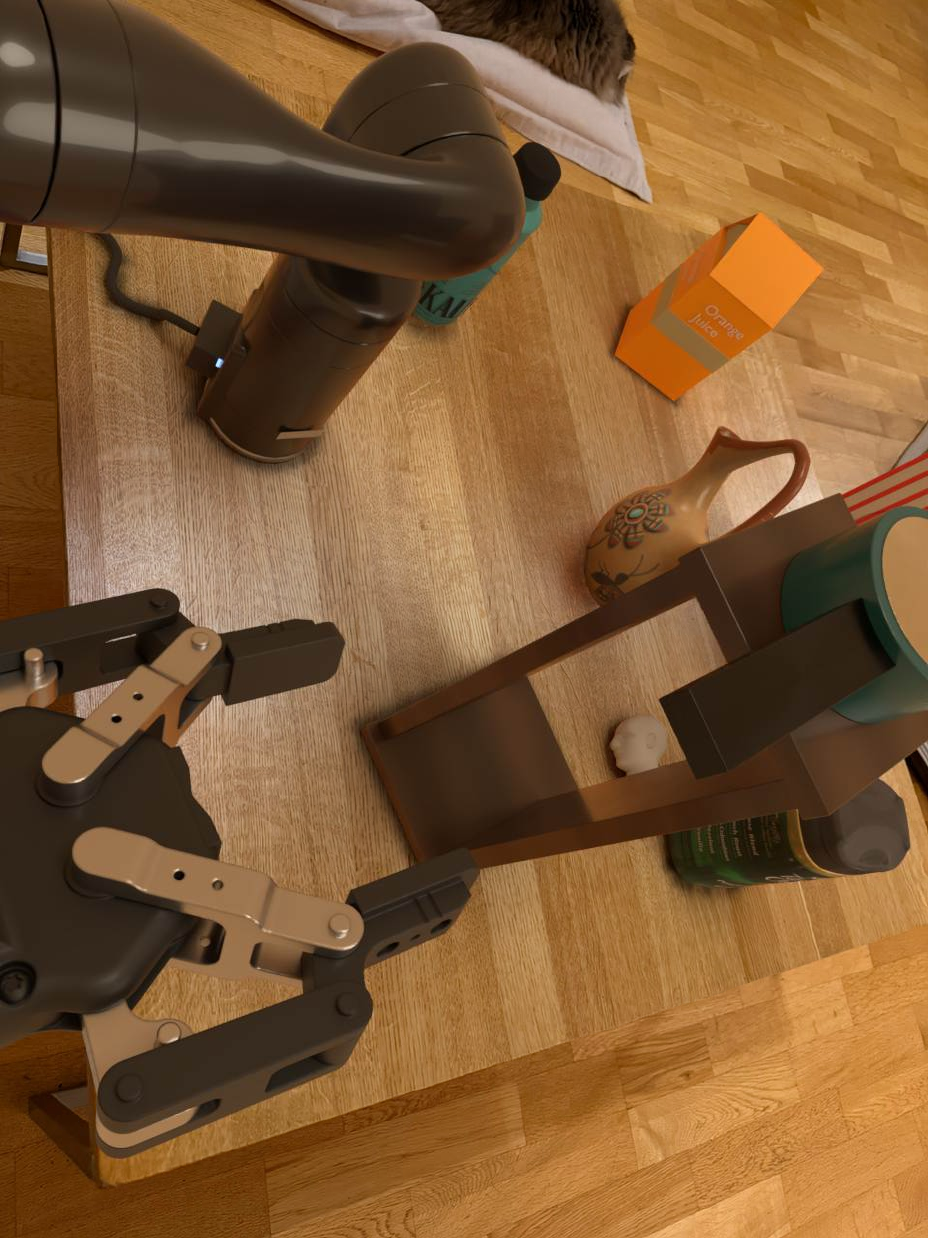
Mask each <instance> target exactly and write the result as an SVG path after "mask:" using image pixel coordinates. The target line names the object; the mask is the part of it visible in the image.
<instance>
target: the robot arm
mask: <svg viewBox="0 0 928 1238" xmlns="http://www.w3.org/2000/svg"><path fill="white" fill-rule="evenodd" d="M525 216H526V204H525V196H524V191H523V186H522V182H521V179H520V175H519V172H518V168H517V165H516V163H515V160H514V158H513V154H512V151H511V148H510V146H509V143H508V141H507V139H506V136H505V134H504V132H503V129H502V127H501V124H500V122H499V120H498V117H497V115H496V112H495V109H494V108H493V104H492V102H491V100H490V97H489V94H488V93H487V90H486V88H485V86H484V84H483V81H482V79H481V76H480V75H479V74H478V72H477V70H476V68H475V66H473V64H472V62H471V61H470V60H469V59H468V58H467V57H466V56H465V55H463V53H461V52H460V51H459V50H457V49H456V48H454V47H452V46H450V45H447V44H443V43H440V42H437V41H436V42H434V41H416V42H415V41H414V42H410V43H406V44H402V45H400V46H398V47H395V48H392V49H390V50H389V51H385V52H384V53H382V54H381V55H379V56H378V57H376V58H375V59H374V60H372V61H370V62H369V63H368V64H367V65H366V66H365V67H364V68H363V69H361V70H360V71H359V72H358V73H357V74H356V75H355V76H354V77H353V78H352V80H351V81H350V82H349V83H348V84H347V85H346V87H345V88H344V90H343V91H342V92H341V94H340V95H339V97H338V98H337V99H336V101H335V103H334V105H333V106H332V108H331V110H330V111H329V114H328V115H327V117H326V119H325V122H324V123H323V126H322V127H321V129H320V128H319V127H317V126H316V125H313V124H312V123H310V122H308V121H306V120H304V119H303V118H302V117H301V116H299V115H298V114H296V113H295V112H293V111H292V110H291V109H289V108H288V107H286V106H285V105H284V104H283V103H280V101H278V100H276V98H274V97H273V96H271V95H270V94H268V92H266V91H265V90H263V89H262V88H261V87H259V86H258V85H257V84H255V82H252V80H250V79H249V78H247V76H245V75H244V74H243V73H241V72H240V71H239V70H237V69H236V68H234V67H233V66H232V65H230V64H229V63H228V62H226V61H225V60H223V59H222V58H221V57H220V56H218V55H217V54H215V53H214V52H212V51H211V50H210V49H208V48H207V47H205V46H204V45H203V44H201V43H200V42H198V41H197V40H195V39H194V38H193V37H191V36H189V35H188V34H187V33H185V32H183V31H181V30H180V29H178V28H177V27H175V26H174V25H172V24H171V23H170V22H167V21H166V20H164V19H163V18H161V17H160V16H157V15H156V14H154V13H152V12H150V11H149V10H146V9H145V8H142V7H140V6H138V5H135V4H133V3H130V2H128V1H126V0H0V223H2V224H9V225H16V226H26V227H27V226H28V227H36V228H47V229H56V230H66V231H75V232H86V233H93V234H97V235H98V236H99V237H100V238H101V240H103V241H104V242H105V244H106V245H107V247H108V249H109V250H110V261H109V265H108V268H107V270H106V275H105V284H106V288H107V290H108V292H109V294H110V296H111V297H112V298H113V299H114V300H115V302H117V303H118V304H120V306H122V307H124V308H126V309H127V310H128V311H129V310H130V311H131V312H133V313H136V314H140V315H143V316H146V317H149V318H152V319H155V320H158V321H161V322H168V323H169V324H171V325H173V326H175V327H177V328H179V329H181V330H183V331H185V332H187V333H188V334H190V335H192V336H193V337H194V340H193V342H192V345H191V347H190V349H189V352H188V355H187V357H186V359H185V361H184V365H183V366H184V367H186V368H188V369H190V370H192V371H194V372H196V373H198V374H200V375H202V376H204V377H207V380H205V381H206V382H205V384H204V387H203V391H202V392H203V393H202V395H201V398H200V400H199V402H198V405H197V408H196V410H195V415H196V416H198V417H199V418H200V419H203V420H205V421H207V422H208V423H209V425H210V427H211V428H212V430H213V431H214V432H215V434H216V436H217V437H218V438H219V439H220V440H221V441H222V442H223V443H224V444H225V445H227V446H228V447H229V448H230V449H231V450H233V451H234V452H236V453H238V454H239V455H241V456H243V457H245V458H247V459H250V460H253V461H257V462H261V463H268V464H269V463H272V464H274V463H285V462H287V461H288V462H289V461H291V460H293V459H295V458H297V457H299V456H300V455H301V454H303V453H304V452H305V451H306V450H307V449H308V448H309V447H310V445H311V444H312V442H313V441H314V439H315V438H317V437H321V436H322V435H323V434H324V432H325V431H326V429H322V428H323V427H324V425H325V424H326V423H327V422H328V420H329V419H330V418H331V417H332V415H333V414H334V413H335V411H336V410H337V409H338V407H339V406H340V405H341V404H342V403H343V401H344V400H345V399H346V397H347V396H348V395H349V394H350V393H351V391H352V390H353V389H354V387H356V386H357V384H358V382H359V381H361V379H362V377H363V376H364V375H365V374H366V372H367V371H368V370H369V369H370V368H371V366H372V365H373V364H374V362H375V361H377V359H378V357H379V356H380V355H381V354H382V352H383V351H384V350H385V349H386V347H387V346H388V345H389V344H390V342H391V341H392V340H393V338H395V336H396V335H397V333H398V332H399V331H400V329H401V328H402V327H403V326H404V324H405V323H406V322H407V320H409V318H410V317H411V315H412V314H413V311H414V309H415V307H416V305H417V302H418V300H419V297H420V293H421V286H422V281H436V280H446V279H453V278H457V277H461V276H466V275H469V274H472V273H474V272H477V271H480V270H482V269H484V268H486V267H488V266H490V265H492V264H494V263H495V262H497V261H498V260H500V259H501V258H502V257H503V256H505V255H506V254H507V253H508V252H509V251H510V250H511V248H512V247H513V246H514V245H515V243H516V242H517V240H518V238H519V236H520V234H521V232H522V229H523V225H524V220H525ZM113 235H124V236H125V235H126V236H144V237H157V238H164V239H165V238H166V239H175V240H181V241H191V242H198V243H207V244H213V245H214V244H215V245H221V246H228V247H235V248H241V249H251V250H258V251H263V252H264V251H265V252H268V253H269V252H270V253H276V255H275V257H274V259H273V260H272V263H271V264H270V267H269V268H268V269H267V272H266V273H265V276H264V277H263V279H262V280H261V283H260V284H259V287H257V288H254V289H253V290H252V291H251V294H250V295H249V297H248V299H247V301H246V303H245V305H244V307H243V308H242V310H241V312H239V311H237V310H235V309H233V308H231V307H230V306H227V305H225V304H223V303H222V302H220V301H218V300H216V299H215V298H214V299H212V300H211V301H210V304H209V305H208V307H207V309H206V312H205V314H204V316H203V318H202V320H201V323H200V325H197V324H195V323H193V322H191V321H189V320H188V319H186V318H184V317H183V316H180V315H179V314H176V313H175V312H173V311H171V310H168V309H166V308H156V307H153V306H149V305H146V304H143V303H140V302H137V301H136V300H133V299H132V298H130V297H128V296H126V295H125V294H124V293H123V292H122V291H121V290H120V288H119V285H118V275H119V272H120V269H121V266H122V263H123V262H122V261H123V252H122V249H121V246H120V244H119V243H118V241H117V240H116V238H115V237H114V236H113ZM180 608H181V600H180V598H179V596H178V595H177V594H176V593H175V592H173V591H171V590H169V589H166V588H162V587H153V588H148V589H143V590H139V591H135V592H129V593H125V594H120V595H115V596H110V597H105V598H101V599H97V600H93V601H88V602H84V603H78V604H74V605H69V606H65V607H60V608H55V609H51V610H46V611H40V612H35V613H32V614H26V615H22V616H18V617H12V618H8V619H4V620H0V1050H2V1049H4V1048H5V1047H7V1046H10V1045H12V1044H14V1043H15V1042H17V1041H19V1040H22V1039H24V1038H26V1037H29V1036H32V1035H35V1034H41V1033H48V1032H73V1033H82V1038H83V1042H84V1046H85V1050H86V1055H87V1059H88V1063H89V1067H90V1071H91V1076H92V1080H93V1085H94V1089H95V1093H96V1109H95V1111H96V1112H95V1124H94V1125H95V1126H94V1138H95V1142H96V1145H97V1147H98V1148H99V1150H100V1151H101V1152H102V1153H103V1154H104V1155H106V1156H107V1157H110V1158H112V1159H117V1160H123V1159H128V1158H131V1157H133V1156H134V1157H135V1156H136V1155H139V1154H141V1153H143V1152H146V1151H148V1150H150V1149H153V1148H155V1147H157V1146H160V1145H162V1144H165V1143H167V1142H170V1141H172V1140H174V1139H177V1138H179V1137H181V1136H183V1135H186V1134H189V1133H191V1132H193V1131H196V1130H197V1129H200V1128H202V1127H205V1126H207V1125H210V1124H213V1123H214V1122H217V1121H219V1120H222V1119H224V1118H226V1117H229V1116H231V1115H233V1114H235V1113H238V1112H241V1111H244V1110H245V1109H247V1108H250V1107H253V1106H255V1105H258V1104H259V1103H262V1102H264V1101H267V1100H269V1099H271V1098H274V1097H276V1096H278V1095H281V1094H283V1093H285V1092H288V1091H290V1090H293V1089H295V1088H298V1087H300V1086H302V1085H305V1084H307V1083H310V1082H313V1081H315V1080H316V1079H319V1078H322V1077H324V1076H326V1075H328V1074H331V1073H333V1072H336V1071H337V1070H339V1069H341V1068H343V1067H344V1066H345V1065H346V1064H347V1062H348V1061H349V1059H350V1057H351V1055H352V1054H353V1052H354V1050H355V1048H356V1046H357V1045H358V1043H359V1041H360V1039H361V1037H362V1035H363V1034H364V1032H365V1030H366V1028H367V1026H368V1024H369V1022H370V1021H371V1019H372V1016H373V1013H374V1001H373V998H372V996H371V993H370V991H369V990H368V989H367V988H366V981H365V980H366V979H365V970H367V969H369V968H370V967H373V966H375V965H378V964H380V963H382V962H384V961H387V960H388V959H391V958H393V957H395V956H398V955H400V954H402V953H405V952H407V951H410V950H411V949H413V948H416V947H418V946H420V945H423V944H425V943H426V942H430V941H432V940H434V939H437V938H438V937H439V938H440V937H441V936H443V935H445V934H446V933H447V932H448V931H449V930H450V929H451V928H452V927H453V926H454V924H455V923H456V922H457V921H458V920H459V918H460V917H461V914H462V913H463V912H464V909H465V907H467V904H468V902H469V901H470V900H471V897H472V893H471V892H470V891H471V889H472V888H473V886H474V884H475V882H476V881H477V879H478V877H479V876H480V874H481V869H480V868H479V867H478V865H477V863H476V862H475V860H474V858H473V857H472V855H471V853H470V852H469V850H468V848H466V847H462V848H458V849H456V850H453V851H450V852H448V853H445V854H443V855H440V856H437V857H435V858H432V859H430V860H427V861H425V862H422V863H419V864H418V863H417V864H413V865H411V866H408V867H406V868H404V869H401V870H399V871H396V872H394V873H393V872H392V873H391V874H388V875H386V876H383V877H380V878H378V879H375V880H373V881H370V882H368V883H365V884H363V885H359V886H357V887H354V888H352V889H350V890H349V892H348V894H347V897H346V900H345V902H340V901H336V900H333V899H328V898H325V897H321V896H316V895H312V894H308V893H304V892H300V891H297V890H293V889H288V888H284V887H282V886H279V885H278V884H277V883H276V882H275V880H274V878H272V877H271V876H270V875H269V874H267V873H266V872H263V871H262V870H261V871H260V870H257V869H253V868H249V867H245V866H241V865H237V864H233V863H229V862H225V861H221V860H220V854H221V850H222V849H221V848H222V845H223V842H222V839H221V837H220V834H219V833H218V830H217V827H216V826H215V823H214V821H213V819H212V817H211V815H210V814H209V813H208V812H207V811H206V810H205V808H204V806H202V805H201V804H200V803H199V801H198V800H197V799H196V797H194V794H193V792H192V791H193V790H192V779H191V770H190V769H191V768H190V766H189V764H188V761H187V759H186V757H185V754H184V752H183V750H182V747H181V746H180V745H177V744H178V741H179V740H180V738H181V737H182V736H183V735H184V733H186V731H187V730H188V729H189V728H190V726H191V725H192V724H193V723H194V722H195V721H196V720H197V719H198V717H199V716H200V715H201V714H202V713H203V712H204V710H205V709H206V708H207V707H208V706H209V704H211V702H212V700H213V699H214V697H218V696H220V697H221V699H222V701H223V703H224V705H225V707H230V706H234V705H238V704H243V703H247V702H250V701H255V700H258V699H262V698H266V697H270V696H274V695H278V694H282V693H287V692H290V691H295V690H298V689H303V688H306V687H310V686H314V685H318V684H322V683H325V682H327V681H330V679H332V678H333V677H334V676H335V675H336V674H337V672H338V669H339V665H340V662H341V659H342V656H343V653H344V650H345V646H346V641H345V639H344V637H343V636H342V633H341V632H340V630H339V629H338V627H337V625H336V624H335V623H334V622H332V621H323V622H318V623H315V622H314V620H313V619H306V618H305V619H304V618H292V619H286V620H281V621H279V622H272V623H267V624H263V625H258V626H257V625H256V626H253V627H248V628H241V629H238V630H233V631H227V632H221V633H218V632H216V630H214V629H211V628H210V627H206V626H199V625H197V626H196V625H195V623H193V622H192V621H191V620H190V619H189V618H187V616H186V615H184V614H183V613H182V612H181V611H180ZM119 681H122V682H121V683H120V684H119V685H118V686H117V687H116V688H115V689H114V690H113V691H112V692H110V694H109V695H108V696H107V697H106V698H105V699H104V700H103V701H102V702H101V703H100V704H99V705H97V707H96V708H95V709H94V710H93V711H92V712H91V713H90V714H89V715H88V716H87V717H86V718H84V717H81V716H77V715H72V714H69V713H65V712H60V711H56V710H53V709H49V708H46V707H48V706H50V705H51V704H53V702H55V700H56V699H57V698H60V697H63V696H67V695H71V694H74V693H78V692H79V693H80V692H82V691H86V690H90V689H93V688H98V687H101V686H104V685H109V684H112V683H117V682H119ZM165 967H168V968H172V969H173V968H174V969H178V970H182V971H186V972H189V973H194V974H199V975H203V976H207V977H211V978H216V979H221V980H225V981H228V982H229V981H230V982H241V981H244V980H247V979H259V980H264V981H267V982H271V983H275V984H280V985H284V986H287V987H291V988H292V987H293V988H295V989H301V990H302V993H301V994H299V995H295V996H293V997H290V998H288V999H285V1000H282V1001H279V1002H276V1003H274V1004H272V1005H269V1006H266V1007H263V1008H260V1009H258V1010H255V1011H252V1012H250V1013H247V1014H244V1015H242V1016H239V1017H236V1018H234V1019H230V1020H228V1021H225V1022H222V1023H220V1024H217V1025H215V1026H212V1027H208V1028H207V1029H203V1030H201V1031H198V1032H196V1033H194V1031H193V1030H192V1027H190V1025H188V1024H187V1023H186V1022H185V1021H182V1020H180V1019H177V1018H174V1017H173V1018H172V1017H168V1018H167V1017H166V1018H161V1019H156V1020H154V1019H153V1020H149V1019H144V1018H141V1017H139V1016H137V1015H136V1014H135V1013H134V1012H132V1011H134V1009H135V1008H136V1007H137V1005H138V1004H139V1003H140V1001H141V1000H142V998H143V997H145V994H146V993H147V992H148V990H149V989H150V988H151V986H152V984H153V983H154V982H155V981H156V979H157V978H158V977H159V975H160V973H161V972H162V971H163V970H164V968H165Z"/></svg>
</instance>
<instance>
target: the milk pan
mask: <svg viewBox="0 0 928 1238" xmlns="http://www.w3.org/2000/svg"><path fill="white" fill-rule="evenodd" d="M781 613H782V620H783V626H784V630H785V634H783V635H781V636H779V637H777V638H775V639H773V640H771V641H769V642H767V643H765V644H763V645H761V646H759V647H758V648H756V649H754V650H752V651H750V652H748V653H746V654H744V655H742V656H740V657H738V658H736V659H734V660H732V661H731V662H729V663H727V662H726V663H725V664H723V665H721V666H719V667H717V668H714V669H713V670H711V671H709V672H708V673H705V674H703V675H702V676H700V677H698V678H696V679H693V680H692V681H690V682H688V683H686V684H684V685H682V686H680V687H679V688H676V689H675V690H673V691H670V692H669V693H667V694H665V695H663V696H661V697H659V698H658V702H659V704H660V706H661V709H662V710H663V713H664V714H665V715H664V716H665V718H666V719H667V721H668V724H669V725H670V728H671V729H672V732H673V734H674V736H675V738H676V741H677V743H678V745H679V747H680V749H681V751H682V753H683V755H684V757H685V760H686V759H687V761H688V764H689V766H690V768H691V770H692V772H693V774H694V776H695V779H696V780H699V779H703V778H707V777H711V776H715V775H719V774H723V773H727V772H729V771H731V770H733V769H734V768H736V767H737V766H739V765H740V764H742V763H744V762H745V761H747V760H748V759H750V758H752V757H753V756H755V755H756V754H758V753H759V752H761V751H763V750H764V749H766V748H767V747H769V746H771V745H772V744H774V743H775V742H777V741H778V740H780V739H782V738H783V737H785V736H786V735H788V734H790V733H791V732H793V731H794V730H796V729H797V728H799V727H801V726H802V725H804V724H805V723H807V722H809V721H810V720H812V719H813V718H815V717H816V716H818V715H820V714H821V713H823V712H824V711H826V710H827V709H829V708H832V709H834V710H835V711H837V712H838V713H840V714H841V715H843V716H845V717H847V718H849V719H851V720H854V721H857V722H860V723H866V724H876V723H881V722H884V721H888V720H892V719H896V718H900V717H904V716H907V715H911V714H915V713H919V712H923V711H927V710H928V511H927V510H925V509H922V508H919V507H914V506H899V507H895V508H892V509H890V510H888V511H886V512H884V513H882V514H880V515H877V516H875V517H873V518H871V519H869V520H867V521H865V522H863V523H860V524H858V525H856V526H854V527H852V528H850V529H848V530H846V531H843V532H841V533H839V534H837V535H835V536H833V537H831V538H828V539H826V540H824V541H822V542H820V543H818V544H816V545H814V546H811V547H809V548H807V549H805V550H804V551H802V552H800V553H799V554H798V555H797V556H796V557H795V558H794V559H793V561H792V562H791V563H790V565H789V567H788V569H787V571H786V573H785V576H784V579H783V584H782V590H781Z"/></svg>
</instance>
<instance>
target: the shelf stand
mask: <svg viewBox="0 0 928 1238" xmlns="http://www.w3.org/2000/svg"><path fill="white" fill-rule="evenodd" d="M856 525H857V524H856V522H855V520H854V518H853V516H852V514H851V512H850V510H849V508H848V507H847V505H846V503H845V501H844V499H843V497H842V493H841V492H837V493H835V494H832V495H830V496H829V495H828V496H827V497H824V498H822V499H821V498H820V499H819V500H816V501H814V502H811V503H809V504H806V505H803V506H800V507H798V508H796V509H794V510H791V511H787V512H785V513H782V514H780V515H776V516H775V517H774V518H772V519H770V520H767V521H764V522H762V523H759V524H757V525H754V526H752V527H749V528H746V529H744V530H741V531H739V532H736V533H733V534H731V535H728V536H726V537H723V538H720V539H718V540H715V541H713V542H710V543H708V544H705V545H702V546H700V547H698V548H696V549H694V550H692V551H690V552H688V553H686V554H685V555H683V556H681V557H679V558H678V561H679V563H680V565H679V566H677V567H675V568H673V569H671V570H669V571H667V572H665V573H663V574H661V575H660V576H658V577H656V578H654V579H652V580H650V581H648V582H646V583H644V584H642V585H640V586H639V587H637V588H635V589H633V590H631V591H629V592H627V593H625V594H623V595H621V596H619V597H618V598H616V599H614V600H612V601H610V602H608V603H606V604H604V605H602V606H598V607H596V608H595V609H593V610H591V611H589V612H587V613H585V614H583V615H581V616H579V617H578V618H575V619H573V620H572V621H570V622H568V623H566V624H564V625H562V626H560V627H558V628H556V629H554V630H552V631H551V632H548V633H547V634H545V635H542V636H541V637H539V638H537V639H536V640H534V641H531V642H529V643H527V644H525V645H524V646H522V647H520V648H518V649H516V650H515V651H512V652H511V653H509V654H507V655H505V656H503V657H501V658H499V659H497V660H495V661H493V662H491V663H490V664H487V665H485V666H484V667H482V668H480V669H478V670H475V671H474V672H473V673H471V674H468V675H467V676H465V677H462V678H461V679H459V680H457V681H455V682H452V683H451V684H449V685H447V686H445V687H444V688H442V689H440V690H438V691H436V692H434V693H433V694H430V695H428V696H425V698H422V699H420V700H419V701H416V702H415V703H413V704H410V705H408V706H405V707H403V708H401V709H399V710H396V711H394V712H391V713H389V714H387V715H384V716H382V717H380V718H377V719H375V720H373V721H370V722H368V723H366V724H363V725H362V726H360V727H359V730H360V733H361V736H362V738H363V739H364V742H365V744H366V747H367V749H368V751H369V753H370V756H371V758H372V760H373V764H374V765H375V767H376V769H377V772H378V774H379V776H380V779H381V782H382V784H383V786H384V789H385V791H386V792H387V795H388V797H389V799H390V803H391V804H392V806H393V808H394V811H395V813H396V815H397V818H398V821H399V822H400V825H401V827H402V830H403V832H404V834H405V836H406V839H407V842H408V843H409V846H410V848H411V850H412V852H413V855H414V857H415V860H416V862H417V864H419V863H422V862H425V861H427V860H430V859H432V858H435V857H437V856H440V855H443V854H445V853H448V852H450V851H453V850H456V849H458V848H462V847H466V848H468V850H469V852H470V853H471V855H472V857H473V858H474V860H475V862H476V863H477V865H478V867H479V868H480V870H483V869H488V868H490V869H491V868H495V867H499V866H504V865H510V864H517V863H521V862H526V861H531V860H536V859H541V858H547V857H552V856H558V855H563V854H569V853H574V852H578V851H585V850H589V849H595V848H600V847H606V846H610V845H617V844H621V843H627V842H631V841H637V840H643V839H647V838H653V837H657V836H663V835H664V836H665V835H669V833H675V832H680V831H685V830H690V829H696V828H701V827H706V826H712V825H717V824H722V823H727V822H733V821H738V820H743V819H749V818H754V817H759V816H764V815H770V814H775V813H780V812H785V811H791V810H796V809H798V811H799V813H800V815H801V817H802V819H803V820H807V819H813V818H818V817H824V816H829V815H831V814H832V813H833V812H835V811H836V810H837V809H838V808H840V807H841V806H842V805H844V804H845V803H846V802H848V801H849V800H850V799H852V798H853V797H854V796H856V795H857V794H858V793H860V792H861V791H862V790H864V789H865V788H866V787H868V786H869V785H870V784H872V783H873V782H874V781H875V780H877V779H878V778H879V779H880V778H881V777H882V776H884V775H885V774H886V773H887V772H889V771H890V770H892V769H893V768H894V767H895V766H896V765H898V764H899V763H901V762H902V761H903V760H905V759H906V758H908V757H909V756H910V755H911V754H913V753H914V752H915V751H917V750H918V749H919V748H920V747H922V746H923V745H924V744H926V743H927V742H928V710H927V711H923V712H919V713H915V714H911V715H907V716H904V717H900V718H896V719H892V720H888V721H884V722H881V723H876V724H866V723H860V722H857V721H854V720H851V719H849V718H847V717H845V716H843V715H841V714H840V713H838V712H837V711H835V710H834V709H832V708H829V709H827V710H826V711H824V712H823V713H821V714H820V715H818V716H816V717H815V718H813V719H812V720H810V721H809V722H807V723H805V724H804V725H802V726H801V727H799V728H797V729H796V730H794V731H793V732H791V733H790V734H788V735H786V736H785V737H783V738H782V739H780V740H778V741H777V742H775V743H774V744H772V745H771V746H769V747H767V748H766V749H764V750H763V751H761V752H759V753H758V754H756V755H755V756H753V757H752V758H750V759H748V760H747V761H745V762H744V763H742V764H740V765H739V766H737V767H736V768H734V769H733V770H731V771H729V772H727V773H723V774H719V775H715V776H711V777H707V778H703V779H699V780H696V779H695V776H694V774H693V772H692V770H691V768H690V766H689V764H688V761H687V759H686V758H685V759H683V760H679V761H675V762H673V763H672V762H671V763H667V764H664V765H661V766H658V768H654V769H650V770H647V771H643V772H639V773H636V774H632V775H629V776H626V775H625V776H622V777H618V778H615V779H611V780H608V781H604V782H600V783H597V784H593V785H589V786H585V787H582V788H579V787H578V784H577V782H576V779H575V778H574V776H573V774H572V771H571V768H570V766H569V765H568V762H567V760H566V758H565V756H564V754H563V751H562V750H561V747H560V745H559V742H558V740H557V739H556V736H555V734H554V732H553V730H552V727H551V725H550V722H549V721H548V718H547V717H546V714H545V712H544V710H543V708H542V706H541V703H540V702H539V698H538V697H537V695H536V693H535V690H534V688H533V686H532V684H531V681H530V679H529V677H531V676H534V675H535V674H537V673H539V672H542V671H543V670H546V669H547V668H550V667H553V666H554V665H556V664H558V663H560V662H563V661H565V660H567V659H569V658H571V657H574V656H575V655H578V654H580V653H582V652H584V651H587V650H588V649H590V648H592V647H594V646H596V645H598V644H602V643H603V642H604V641H607V640H609V639H612V638H613V637H616V636H617V635H620V634H622V633H624V632H626V631H628V630H630V629H633V628H634V627H636V626H640V625H641V624H644V623H645V622H647V621H650V620H652V619H653V618H656V617H658V616H660V615H663V614H665V613H667V612H669V611H671V610H673V609H674V608H677V607H679V606H681V605H683V604H686V603H687V602H689V601H692V600H694V599H696V601H697V603H698V605H699V607H700V609H701V611H702V613H703V615H704V617H705V620H706V622H707V624H708V626H709V628H710V630H711V632H712V634H713V636H714V638H715V641H716V642H717V645H718V646H719V649H720V651H721V653H722V655H723V657H724V659H725V661H726V664H727V663H729V662H731V661H732V660H734V659H736V658H738V657H740V656H742V655H744V654H746V653H748V652H750V651H752V650H754V649H756V648H758V647H759V646H761V645H763V644H765V643H767V642H769V641H771V640H773V639H775V638H777V637H779V636H781V635H783V634H785V630H784V626H783V620H782V613H781V590H782V584H783V579H784V576H785V573H786V571H787V569H788V567H789V565H790V563H791V562H792V561H793V559H794V558H795V557H796V556H797V555H798V554H799V553H800V552H802V551H804V550H805V549H807V548H809V547H811V546H814V545H816V544H818V543H820V542H822V541H824V540H826V539H828V538H831V537H833V536H835V535H837V534H839V533H841V532H843V531H846V530H848V529H850V528H852V527H854V526H856Z"/></svg>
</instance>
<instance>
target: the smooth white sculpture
mask: <svg viewBox="0 0 928 1238" xmlns="http://www.w3.org/2000/svg"><path fill="white" fill-rule="evenodd" d="M668 737H669V735H668V731H667V728H666V726H665V724H664V723H663V722H662V721H661V720H659V719H658V718H656V717H654V716H652V715H647V714H635V715H633V716H629V717H628V718H626V719H625V720H623V721H622V722H620V724H618V726H617V727H616V729H615V731H614V736H613V737H612V740H611V741H610V742H609V747H610V750H611V751H613V756H614V758H615V760H616V761H615V765H616V767H617V768H619V769H620V770H622V771H624V772H625V773H626V775H625V776H629V775H632V774H636V773H639V772H643V771H647V770H650V769H654V768H658V767H659V761H660V760H661V758H662V757H663V755H664V754H665V752H666V749H667V747H668V740H669V738H668Z"/></svg>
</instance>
